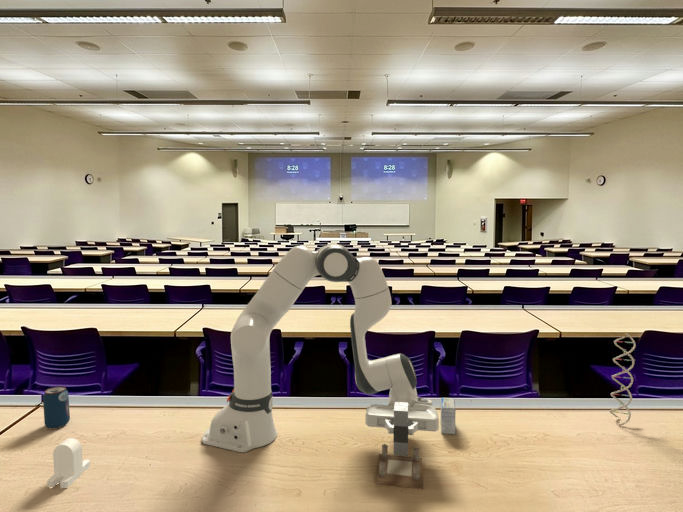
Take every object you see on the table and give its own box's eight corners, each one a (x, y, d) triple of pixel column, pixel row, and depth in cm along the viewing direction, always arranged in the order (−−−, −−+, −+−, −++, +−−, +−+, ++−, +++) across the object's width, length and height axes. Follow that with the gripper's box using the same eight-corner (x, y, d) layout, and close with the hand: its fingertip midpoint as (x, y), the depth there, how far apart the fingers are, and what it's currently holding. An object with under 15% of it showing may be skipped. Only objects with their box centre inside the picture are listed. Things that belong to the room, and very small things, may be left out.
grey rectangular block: (393, 456, 113) (393, 410, 112) (394, 445, 118) (394, 401, 117) (407, 457, 112) (408, 411, 111) (408, 447, 117) (408, 402, 116)
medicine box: (455, 435, 135) (456, 408, 135) (440, 433, 136) (441, 407, 135) (453, 423, 143) (454, 398, 142) (440, 421, 144) (440, 397, 143)
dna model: (608, 416, 148) (614, 330, 146) (631, 421, 145) (637, 334, 142) (607, 423, 143) (612, 335, 140) (630, 429, 139) (636, 338, 136)
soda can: (74, 423, 142) (72, 388, 141) (51, 432, 136) (48, 395, 135) (63, 417, 146) (61, 383, 145) (40, 426, 140) (38, 390, 139)
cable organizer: (46, 488, 108) (43, 451, 107) (72, 466, 118) (70, 431, 117) (67, 489, 108) (64, 451, 107) (91, 466, 118) (89, 431, 117)
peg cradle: (375, 483, 111) (375, 466, 110) (379, 457, 122) (379, 442, 122) (422, 488, 109) (423, 471, 108) (421, 461, 120) (422, 446, 120)
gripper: (367, 396, 129) (361, 417, 115) (437, 400, 125) (440, 423, 112) (367, 416, 129) (361, 440, 116) (437, 421, 126) (439, 446, 112)
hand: (400, 431), depth 114 cm, fingers closed on grey rectangular block, 4 cm apart
